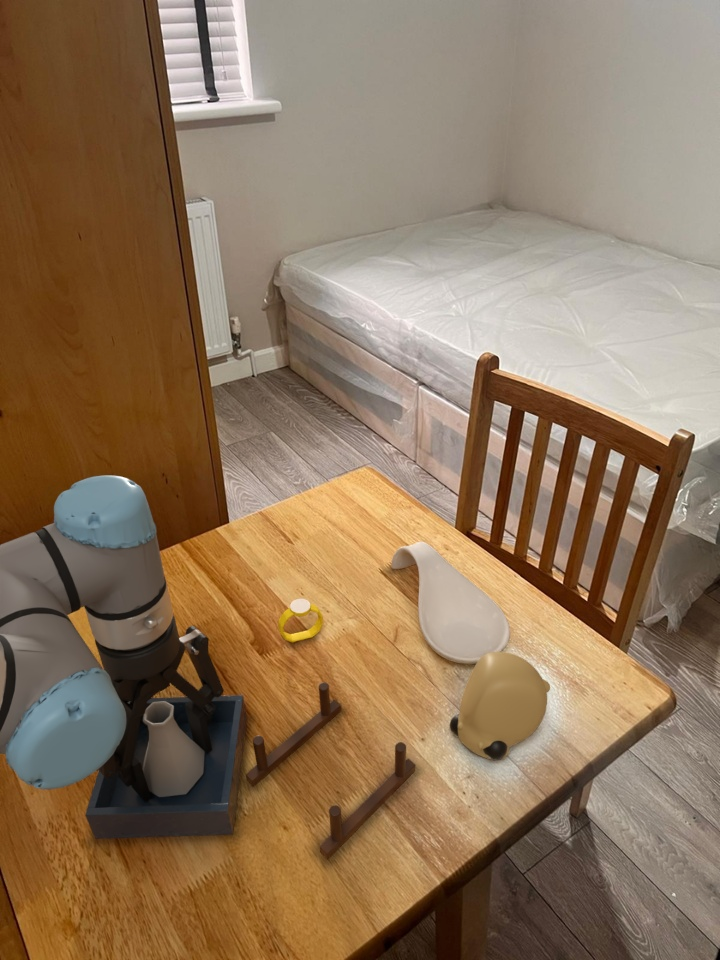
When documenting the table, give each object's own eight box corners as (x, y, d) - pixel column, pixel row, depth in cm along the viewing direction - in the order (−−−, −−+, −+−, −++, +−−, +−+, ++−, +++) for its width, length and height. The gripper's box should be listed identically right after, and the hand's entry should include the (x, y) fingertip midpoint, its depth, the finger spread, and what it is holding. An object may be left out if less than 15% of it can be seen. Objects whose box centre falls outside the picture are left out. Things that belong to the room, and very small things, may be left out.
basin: (232, 834, 77) (227, 810, 75) (95, 839, 77) (84, 815, 75) (247, 719, 89) (243, 694, 87) (128, 723, 89) (120, 698, 87)
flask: (157, 737, 86) (141, 681, 80) (215, 747, 85) (203, 690, 79) (129, 792, 80) (110, 736, 75) (191, 804, 79) (176, 747, 73)
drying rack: (327, 860, 75) (324, 828, 72) (246, 780, 83) (240, 748, 79) (415, 770, 83) (416, 738, 80) (334, 705, 91) (332, 673, 87)
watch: (283, 650, 98) (280, 619, 95) (278, 636, 100) (274, 605, 97) (325, 637, 100) (323, 606, 97) (319, 624, 102) (317, 593, 99)
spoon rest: (524, 659, 96) (531, 620, 92) (447, 690, 92) (450, 651, 88) (435, 553, 114) (437, 517, 110) (367, 576, 110) (366, 539, 106)
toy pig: (463, 723, 92) (420, 723, 84) (508, 640, 92) (468, 632, 84) (526, 773, 86) (486, 778, 78) (575, 684, 86) (539, 680, 77)
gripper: (52, 712, 61) (110, 856, 74) (243, 588, 73) (263, 731, 86) (12, 664, 66) (73, 808, 79) (198, 555, 78) (224, 696, 91)
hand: (173, 768), depth 82 cm, fingers closed on flask, 7 cm apart
